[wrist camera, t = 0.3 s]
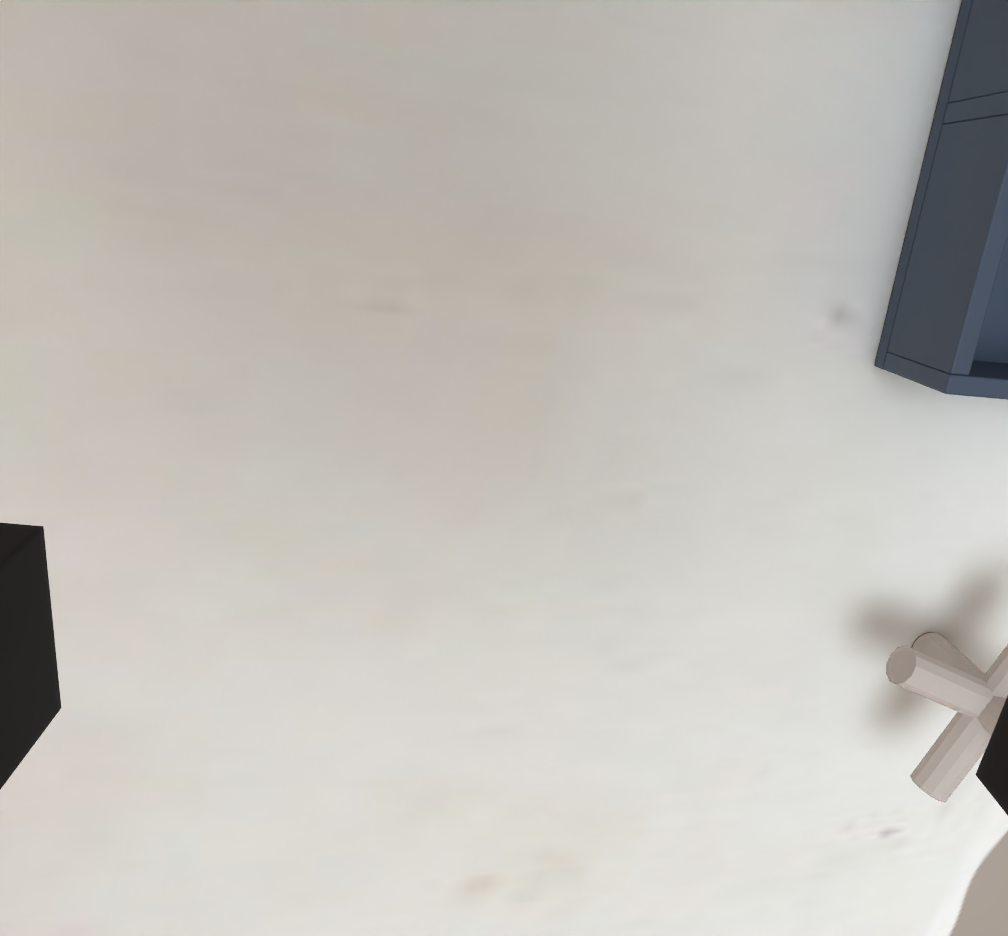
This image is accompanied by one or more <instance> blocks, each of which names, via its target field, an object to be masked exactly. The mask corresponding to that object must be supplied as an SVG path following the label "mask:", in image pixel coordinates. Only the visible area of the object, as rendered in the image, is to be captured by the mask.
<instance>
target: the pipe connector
mask: <svg viewBox="0 0 1008 936" xmlns="http://www.w3.org/2000/svg"><path fill="white" fill-rule="evenodd" d="M886 674H887V676H888V678H889V680H890V681H891V682H893V683H895V684H897V685H899V686H901V687H904V688H906V689H908V690H911V691H913V692H915V693H917V694H920V695H922V696H924V697H926V698H929V699H931V700H933V701H935V702H938V703H940V704H942V705H944V706H947V707H949V708H951V709H954V710H956V711H958V712H957V713H956V715H955V716H954V718H953V719H952V720H951V722H950V723H949V724H948V726H947V727H946V728H945V730H944V731H943V732H942V734H941V735H940V736H939V738H938V739H937V740H936V742H935V743H934V744H933V746H932V747H931V748H930V750H929V751H928V753H927V754H926V755H925V757H924V758H923V759H922V761H921V762H920V763H919V765H918V766H917V767H916V769H915V770H914V771H913V773H912V774H911V775H910V776H911V778H912V780H913V782H914V783H915V784H916V785H917V786H918V787H919V788H920V789H921V790H923V791H924V792H925V793H927V794H928V795H929V796H931V797H933V798H935V799H936V800H938V801H941V802H946V801H947V800H948V798H949V797H950V796H951V794H952V793H953V792H954V791H955V789H956V788H957V787H958V785H959V784H960V783H961V781H962V780H963V779H964V777H965V776H966V775H967V774H968V772H969V771H970V770H971V768H972V767H973V766H974V764H975V763H976V762H977V760H978V759H979V758H980V757H981V755H982V754H983V753H984V751H985V750H986V748H987V745H988V743H989V740H990V738H991V735H992V733H993V730H994V728H995V725H996V723H997V720H998V718H999V716H1000V713H1001V711H1002V708H1003V706H1004V703H1005V701H1006V698H1007V696H1008V645H1007V646H1006V648H1005V649H1004V650H1003V652H1002V653H1001V654H1000V656H999V657H998V658H997V660H996V661H995V662H994V664H993V665H992V666H991V668H990V669H989V670H988V672H987V673H986V674H984V673H983V672H982V671H981V670H980V669H979V668H978V667H977V666H975V665H974V664H973V663H972V662H971V661H970V660H969V659H968V658H966V657H965V656H964V655H963V654H962V653H961V652H960V651H959V650H958V649H956V648H955V647H954V646H953V645H952V644H951V643H950V642H949V641H947V640H946V639H945V638H944V637H943V636H942V635H940V634H938V633H932V632H931V633H926V634H924V635H922V636H920V637H919V638H918V639H917V640H916V641H915V642H914V644H913V647H912V648H910V647H908V646H902V647H898V648H897V649H896V650H895V651H894V652H893V653H892V654H891V655H890V657H889V659H888V662H887V666H886Z"/></svg>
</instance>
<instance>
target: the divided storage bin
mask: <svg viewBox="0 0 1008 936" xmlns="http://www.w3.org/2000/svg"><path fill="white" fill-rule="evenodd" d="M875 366H877V367H879V368H882V369H885V370H887V371H890V372H892V373H895V374H897V375H900V376H902V377H905V378H907V379H910V380H912V381H915V382H917V383H920V384H922V385H925V386H927V387H930V388H932V389H935V390H937V391H940V392H943V393H945V394H954V395H965V396H976V397H987V398H998V399H1008V0H962V4H961V8H960V13H959V17H958V21H957V25H956V29H955V33H954V37H953V42H952V46H951V50H950V54H949V58H948V62H947V67H946V71H945V75H944V79H943V83H942V87H941V91H940V96H939V100H938V104H937V108H936V112H935V116H934V121H933V125H932V129H931V133H930V137H929V141H928V145H927V150H926V154H925V158H924V162H923V166H922V170H921V175H920V179H919V183H918V187H917V191H916V195H915V199H914V204H913V208H912V212H911V216H910V220H909V224H908V228H907V233H906V237H905V241H904V245H903V249H902V253H901V258H900V262H899V266H898V270H897V274H896V278H895V282H894V287H893V291H892V295H891V299H890V303H889V307H888V312H887V316H886V320H885V324H884V328H883V332H882V336H881V341H880V345H879V349H878V353H877V357H876V361H875Z"/></svg>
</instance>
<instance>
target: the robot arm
mask: <svg viewBox="0 0 1008 936" xmlns="http://www.w3.org/2000/svg"><path fill="white" fill-rule="evenodd" d="M60 709H61V701H60V691H59V681H58V671H57V661H56V651H55V641H54V630H53V620H52V610H51V600H50V590H49V580H48V570H47V560H46V549H45V539H44V529H43V526H31V525H20V524H8V523H0V789H1V788H2V786H3V785H4V784H5V782H6V781H7V780H8V778H9V777H10V776H11V774H12V773H13V772H14V770H15V769H16V768H17V766H18V765H19V764H20V762H21V761H22V760H23V758H24V757H25V756H26V754H27V753H28V752H29V750H30V749H31V748H32V746H33V745H34V744H35V742H36V741H37V740H38V738H39V737H40V736H41V734H42V733H43V732H44V730H45V729H46V728H47V726H48V725H49V723H50V722H51V721H52V719H53V718H54V717H55V715H56V714H57V713H58V711H59V710H60ZM976 776H977V777H978V778H979V780H980V781H981V782H982V783H983V785H984V786H985V787H986V788H987V790H988V791H989V792H990V793H991V795H992V796H993V797H994V798H995V800H996V801H997V802H998V804H999V805H1000V806H1001V807H1002V809H1003V810H1004V811H1005V812H1006V814H1007V815H1008V696H1007V698H1006V701H1005V703H1004V706H1003V708H1002V711H1001V713H1000V716H999V718H998V720H997V723H996V725H995V728H994V730H993V733H992V735H991V738H990V740H989V743H988V745H987V748H986V750H985V753H984V755H983V758H982V760H981V763H980V765H979V768H978V770H977V773H976Z"/></svg>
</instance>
